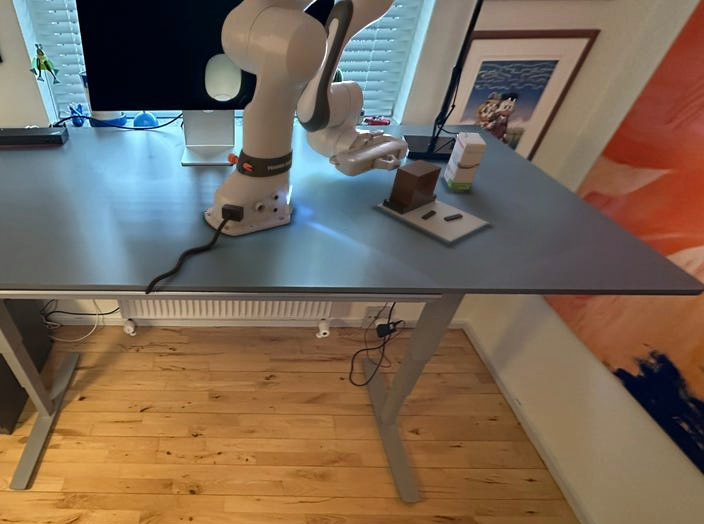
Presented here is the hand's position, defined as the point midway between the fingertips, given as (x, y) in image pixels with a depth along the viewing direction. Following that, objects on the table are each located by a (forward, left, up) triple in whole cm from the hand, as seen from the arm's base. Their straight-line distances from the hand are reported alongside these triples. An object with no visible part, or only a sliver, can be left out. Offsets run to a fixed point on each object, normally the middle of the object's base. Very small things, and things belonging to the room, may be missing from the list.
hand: (396, 166), depth 100 cm
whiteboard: (0, -13, -8) cm, 15 cm away
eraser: (0, -6, -7) cm, 9 cm away
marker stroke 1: (-2, -13, -7) cm, 15 cm away
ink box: (+19, -6, -8) cm, 21 cm away
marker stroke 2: (+2, -17, -7) cm, 19 cm away
